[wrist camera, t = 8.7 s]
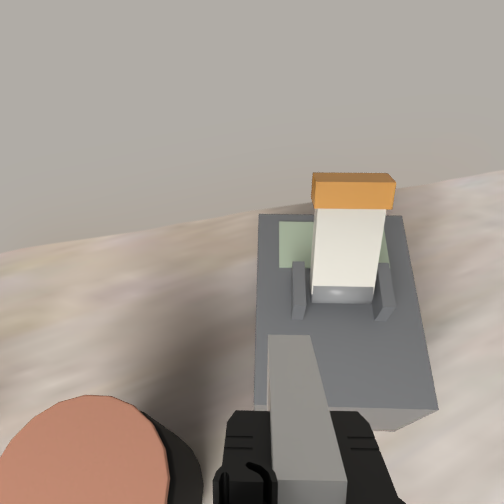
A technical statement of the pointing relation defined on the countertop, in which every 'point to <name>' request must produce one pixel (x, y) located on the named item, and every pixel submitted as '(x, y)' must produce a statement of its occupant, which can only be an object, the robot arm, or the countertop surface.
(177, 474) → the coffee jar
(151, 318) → the countertop surface
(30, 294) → the countertop surface
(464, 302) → the countertop surface
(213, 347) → the countertop surface
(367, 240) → the lever
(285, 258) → the box
